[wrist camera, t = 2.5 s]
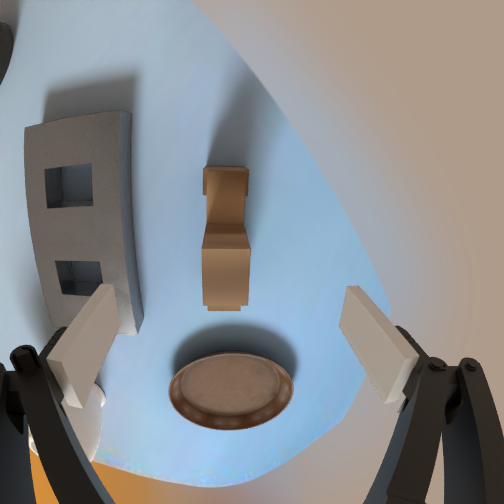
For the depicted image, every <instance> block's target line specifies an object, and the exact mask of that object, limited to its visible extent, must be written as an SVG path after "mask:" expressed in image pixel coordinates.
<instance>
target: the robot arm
mask: <svg viewBox="0 0 504 504" xmlns="http://www.w3.org/2000/svg"><path fill="white" fill-rule="evenodd" d="M12 45H13V36H12V31H11V29H10V27H9V26H8V25H6V24H4V23H1V22H0V84H1V82H2V79H3V77H4V75H5V72H6V70H7V67H8V64H9V60H10V57H11V52H12ZM120 327H121V324H120V319H119V314H118V309H117V304H116V299H115V293H114V287H113V284H101V285H100V286H99V287H98V288H97V290H96V291H95V292H94V293H93V295H92V296H91V297H90V299H89V300H88V301H87V302H86V304H85V305H84V306H83V308H82V309H81V310H80V312H79V313H78V314H77V316H76V317H75V318H74V320H73V321H72V322H71V324H70V325H69V327H65V326H63V327H62V328H60V329H59V330H57V331H56V332H55V334H54V335H53V336H52V338H51V339H50V340H49V342H48V344H46V346H45V347H44V349H43V350H42V351H41V353H40V354H39V356H38V354H37V352H36V350H35V348H34V347H33V346H31V345H22V346H19V347H17V348H16V349H14V350H13V351H12V353H11V354H10V360H11V362H12V364H13V366H14V368H15V370H16V371H6V369H5V367H4V365H3V364H2V363H0V504H36V499H35V493H34V487H33V480H32V473H31V463H30V453H29V433H28V424H29V427H30V431H31V434H32V437H33V440H34V443H35V446H36V449H37V452H38V455H39V457H40V460H41V463H42V466H43V468H44V471H45V473H46V476H47V478H48V480H49V483H50V485H51V487H52V489H53V491H54V494H55V496H56V498H57V500H58V502H59V504H116V503H115V502H114V501H113V499H112V498H111V496H110V495H109V493H108V492H107V490H106V488H105V487H104V485H103V484H102V482H101V480H100V479H99V477H98V475H97V474H96V472H95V470H94V469H93V467H92V465H91V463H90V462H89V460H88V458H87V456H86V454H85V452H84V450H83V448H82V446H81V444H80V442H79V440H78V438H77V436H76V434H75V432H74V430H73V428H72V426H71V423H70V421H69V419H68V417H67V414H66V412H65V409H64V407H63V405H62V404H61V402H62V400H63V398H64V397H65V399H66V401H67V403H68V405H69V406H73V407H77V408H82V409H83V408H84V406H85V403H86V401H87V398H88V396H89V394H90V391H91V389H92V387H93V384H94V382H95V380H96V377H97V375H98V373H99V371H100V369H101V366H102V364H103V362H104V360H105V358H106V356H107V353H108V351H109V349H110V347H111V345H112V343H113V341H114V339H115V337H116V335H117V333H118V331H119V329H120ZM339 328H340V329H341V331H342V333H343V334H344V336H345V338H346V339H347V341H348V343H349V344H350V346H351V348H352V349H353V351H354V353H355V354H356V356H357V358H358V359H359V361H360V363H361V364H362V366H363V368H364V370H365V371H366V373H367V375H368V376H369V378H370V380H371V382H372V383H373V385H374V387H375V388H376V390H377V392H378V394H379V395H380V397H381V399H382V401H383V402H384V404H386V403H390V402H394V401H397V400H398V399H399V397H400V395H401V393H402V391H403V393H404V394H405V396H406V398H405V400H404V402H403V403H402V405H401V407H400V409H399V410H398V413H400V414H399V418H398V421H397V424H396V427H395V430H394V433H393V436H392V438H391V441H390V444H389V447H388V449H387V452H386V454H385V457H384V459H383V462H382V464H381V466H380V469H379V471H378V473H377V476H376V478H375V480H374V482H373V485H372V487H371V489H370V491H369V493H368V495H367V497H366V499H365V501H364V503H363V504H426V503H425V498H426V494H427V491H428V488H429V485H430V481H431V477H432V474H433V469H434V465H435V461H436V457H437V452H438V447H439V442H440V437H441V431H442V442H443V456H444V504H504V437H503V433H502V429H501V425H500V421H499V418H498V414H497V410H496V407H495V404H494V401H493V398H492V394H491V392H490V389H489V386H488V383H487V380H486V377H485V374H484V372H483V369H482V367H481V365H480V363H478V362H477V361H476V360H475V359H473V358H463V359H462V360H461V362H460V364H459V365H458V366H447V364H446V363H445V362H444V361H443V360H441V359H439V358H436V357H429V356H428V355H427V354H426V353H425V352H424V351H423V349H422V348H421V347H420V346H419V345H418V344H417V343H416V342H415V340H414V339H413V338H411V335H410V334H409V333H408V332H407V331H406V330H405V329H403V328H401V327H400V326H394V325H393V324H392V323H391V321H390V320H389V319H388V318H387V317H386V316H385V314H384V313H383V312H382V311H381V310H380V309H379V308H378V307H377V305H376V304H375V303H374V302H373V301H372V300H371V299H370V298H369V296H368V295H367V294H366V293H365V292H364V291H363V290H362V289H361V288H360V286H347V290H346V295H345V300H344V304H343V309H342V313H341V318H340V322H339Z"/></svg>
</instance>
